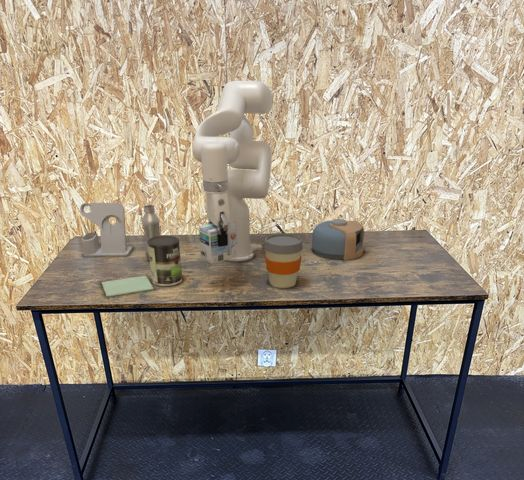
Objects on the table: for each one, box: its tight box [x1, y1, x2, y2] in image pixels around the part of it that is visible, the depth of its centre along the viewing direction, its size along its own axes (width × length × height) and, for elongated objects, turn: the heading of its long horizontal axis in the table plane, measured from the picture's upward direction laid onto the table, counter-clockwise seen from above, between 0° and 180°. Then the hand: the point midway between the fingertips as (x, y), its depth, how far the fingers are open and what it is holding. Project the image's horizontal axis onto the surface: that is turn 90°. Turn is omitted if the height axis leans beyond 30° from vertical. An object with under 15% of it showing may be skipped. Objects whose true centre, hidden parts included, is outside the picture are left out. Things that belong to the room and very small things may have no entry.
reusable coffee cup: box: [263, 233, 304, 289], centre depth 164 cm, size 13×13×15 cm
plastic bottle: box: [141, 204, 161, 262], centre depth 181 cm, size 6×7×20 cm
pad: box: [101, 275, 155, 298], centre depth 164 cm, size 15×12×1 cm
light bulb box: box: [198, 222, 237, 265], centre depth 159 cm, size 11×7×11 cm, turn 129°
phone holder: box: [79, 202, 133, 258], centre depth 189 cm, size 17×10×18 cm, turn 91°
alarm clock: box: [311, 218, 365, 261], centre depth 191 cm, size 19×20×12 cm
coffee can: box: [147, 235, 183, 287], centre depth 165 cm, size 10×10×14 cm
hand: (218, 241), depth 159 cm, fingers closed on light bulb box, 8 cm apart
